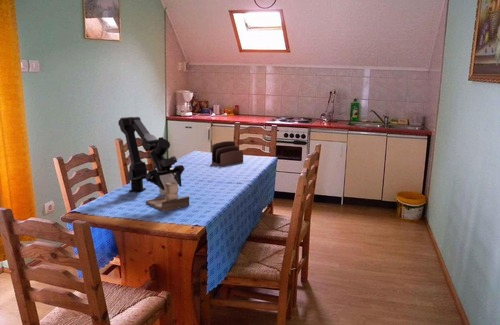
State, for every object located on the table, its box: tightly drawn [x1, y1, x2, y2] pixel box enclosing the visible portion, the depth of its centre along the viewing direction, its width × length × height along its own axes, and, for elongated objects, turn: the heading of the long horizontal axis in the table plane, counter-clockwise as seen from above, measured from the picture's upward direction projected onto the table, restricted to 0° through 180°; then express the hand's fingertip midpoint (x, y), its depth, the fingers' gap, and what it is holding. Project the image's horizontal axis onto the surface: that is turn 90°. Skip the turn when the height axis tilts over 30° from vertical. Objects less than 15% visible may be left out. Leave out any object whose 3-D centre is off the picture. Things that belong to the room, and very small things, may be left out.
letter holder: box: [211, 140, 244, 167], centre depth 289 cm, size 10×20×14 cm, turn 131°
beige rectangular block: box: [164, 181, 179, 201], centre depth 201 cm, size 5×4×10 cm
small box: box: [158, 167, 179, 196], centre depth 220 cm, size 8×6×13 cm
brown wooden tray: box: [145, 195, 190, 213], centre depth 204 cm, size 16×14×4 cm
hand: (172, 187), depth 199 cm, fingers open, 9 cm apart
